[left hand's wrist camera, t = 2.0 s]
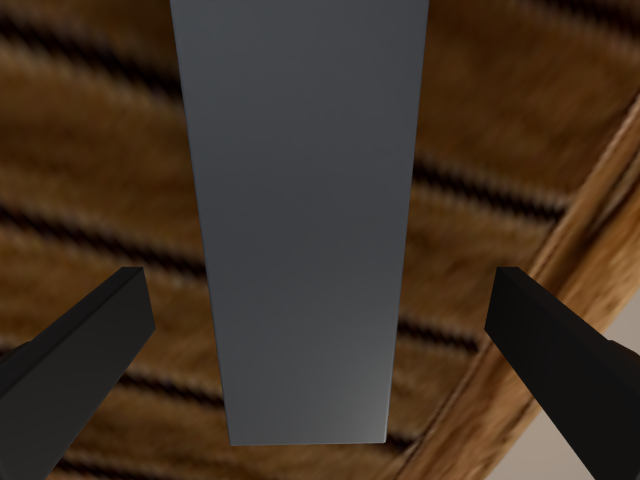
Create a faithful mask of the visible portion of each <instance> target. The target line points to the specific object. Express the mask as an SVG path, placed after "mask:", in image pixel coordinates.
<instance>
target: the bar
mask: <svg viewBox="0 0 640 480" xmlns="http://www.w3.org/2000/svg"><path fill="white" fill-rule="evenodd" d="M170 6H171V13H172V21H173V28H174V35H175V43H176V50H177V58H178V65H179V73H180V80H181V87H182V95H183V102H184V110H185V117H186V124H187V132H188V139H189V147H190V154H191V161H192V169H193V176H194V184H195V191H196V199H197V206H198V213H199V221H200V228H201V236H202V243H203V250H204V258H205V265H206V273H207V280H208V288H209V295H210V302H211V310H212V317H213V325H214V332H215V339H216V347H217V354H218V362H219V369H220V376H221V384H222V391H223V399H224V406H225V414H226V421H227V428H228V436H229V443H230V445H287V444H344V443H384V442H386V436H387V426H388V415H389V405H390V395H391V385H392V375H393V364H394V354H395V344H396V334H397V324H398V313H399V303H400V293H401V283H402V273H403V262H404V252H405V242H406V232H407V222H408V212H409V201H410V191H411V181H412V171H413V161H414V150H415V140H416V130H417V120H418V110H419V99H420V89H421V79H422V69H423V59H424V48H425V38H426V28H427V18H428V8H429V0H170Z"/></svg>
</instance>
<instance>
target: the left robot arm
mask: <svg viewBox="0 0 640 480" xmlns="http://www.w3.org/2000/svg"><path fill="white" fill-rule="evenodd" d="M155 330H156V328H155V323H154V318H153V313H152V308H151V303H150V299H149V294H148V289H147V284H146V279H145V274H144V270H143V267H122V268H120V269H119V270H118V271H117V272H115V273H114V274H113V275H112V276H110V277H109V278H108V279H107V280H105V281H104V282H103V283H102V284H101V285H99V286H98V287H97V288H96V289H94V290H93V291H92V292H91V293H89V294H88V295H87V296H86V297H85V298H83V299H82V300H81V301H80V302H78V303H77V304H76V305H75V306H73V307H72V308H71V309H70V310H68V311H67V312H66V313H65V314H64V315H62V316H61V317H60V318H59V319H57V320H56V321H55V322H54V323H52V324H51V325H50V326H49V327H48V328H46V329H45V330H44V331H43V332H41V333H40V334H39V335H38V336H36V337H35V338H34V339H33V340H31V341H30V342H26V343H24V344H22V345H20V346H18V347H16V348H15V349H13V350H11V351H9V352H7V353H5V354H4V355H3V356H1V357H0V480H45V479H46V477H47V476H48V475H49V473H50V472H51V471H52V469H53V468H54V467H55V465H56V464H57V463H58V461H59V460H60V458H61V457H62V456H63V454H64V453H65V452H66V450H67V449H68V448H69V446H70V445H71V444H72V442H73V441H74V440H75V438H76V437H77V435H78V434H79V433H80V431H81V430H82V429H83V427H84V426H85V425H86V423H87V422H88V421H89V419H90V418H91V416H92V415H93V414H94V412H95V411H96V410H97V408H98V407H99V406H100V404H101V403H102V402H103V400H104V399H105V397H106V396H107V395H108V393H109V392H110V391H111V389H112V388H113V387H114V385H115V384H116V383H117V381H118V380H119V379H120V377H121V376H122V374H123V373H124V372H125V370H126V369H127V368H128V366H129V365H130V364H131V362H132V361H133V360H134V358H135V357H136V355H137V354H138V353H139V351H140V350H141V349H142V347H143V346H144V345H145V343H146V342H147V341H148V339H149V338H150V336H151V335H152V334H153V332H154V331H155ZM484 330H485V331H486V332H487V334H488V335H489V336H490V338H491V339H492V341H493V342H494V343H495V345H496V346H497V347H498V349H499V350H500V351H501V353H502V354H503V355H504V357H505V358H506V360H507V361H508V362H509V364H510V365H511V366H512V368H513V369H514V370H515V372H516V373H517V374H518V376H519V377H520V379H521V380H522V381H523V383H524V384H525V385H526V387H527V388H528V389H529V391H530V392H531V393H532V395H533V396H534V397H535V399H536V400H537V402H538V403H539V404H540V406H541V407H542V408H543V410H544V411H545V412H546V414H547V415H548V416H549V418H550V419H551V421H552V422H553V423H554V425H555V426H556V427H557V429H558V430H559V431H560V433H561V434H562V435H563V437H564V438H565V439H566V441H567V442H568V443H569V445H570V446H571V448H572V449H573V450H574V452H575V453H576V454H577V456H578V457H579V458H580V460H581V461H582V463H583V464H584V465H585V467H586V468H587V469H588V471H589V472H590V473H591V475H592V476H593V477H594V479H595V480H640V356H639V355H638V354H637V353H636V352H634V351H632V350H630V349H628V348H626V347H624V346H622V345H621V344H619V343H617V342H615V341H613V340H607V339H606V338H605V337H604V336H602V335H601V334H600V333H599V332H597V331H596V330H595V329H594V328H592V327H591V326H590V325H589V324H588V323H586V322H585V321H584V320H583V319H581V318H580V317H579V316H578V315H576V314H575V313H574V312H573V311H572V310H570V309H569V308H568V307H567V306H565V305H564V304H563V303H562V302H560V301H559V300H558V299H557V298H555V297H554V296H553V295H552V294H551V293H549V292H548V291H547V290H546V289H544V288H543V287H542V286H541V285H539V284H538V283H537V282H536V281H535V280H533V279H532V278H531V277H530V276H528V275H527V274H526V273H525V272H523V271H522V270H521V269H520V268H518V267H497V270H496V274H495V279H494V284H493V289H492V294H491V299H490V303H489V308H488V313H487V318H486V323H485V328H484Z"/></svg>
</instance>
